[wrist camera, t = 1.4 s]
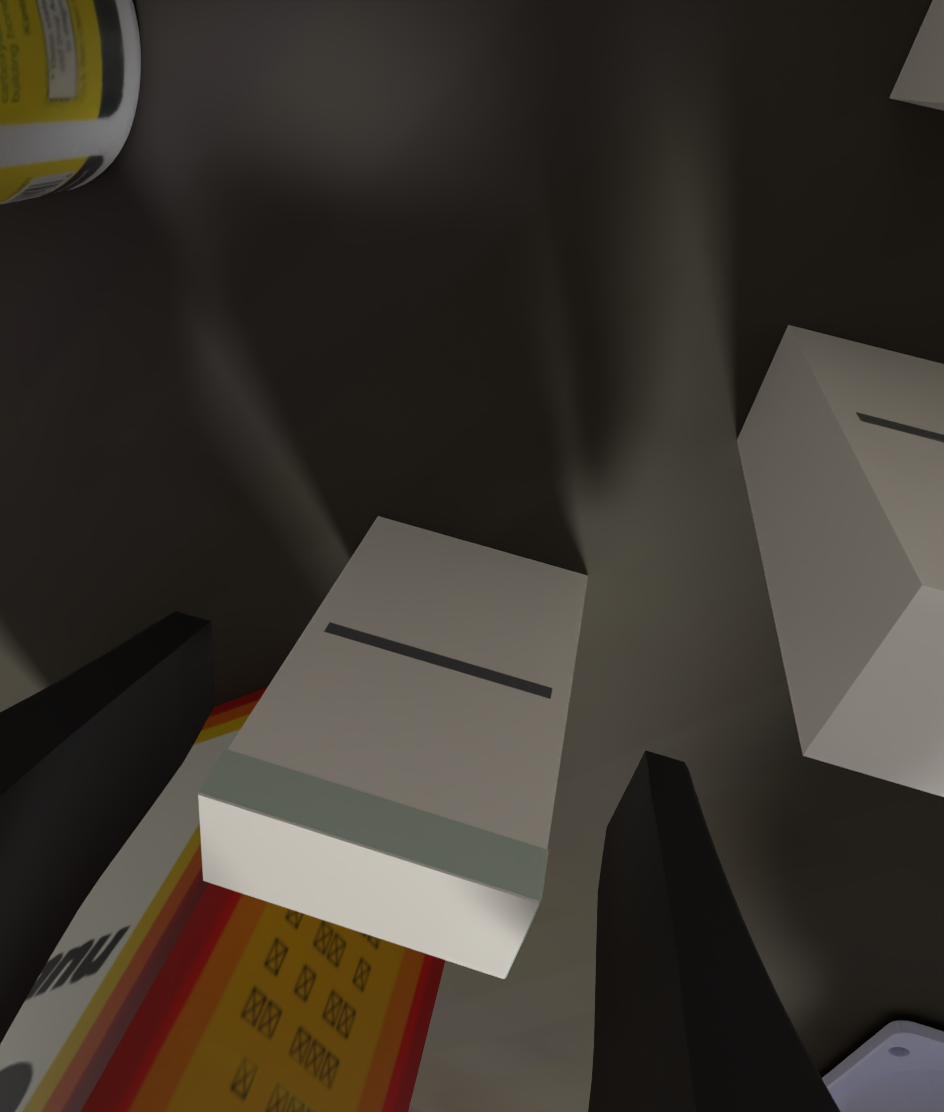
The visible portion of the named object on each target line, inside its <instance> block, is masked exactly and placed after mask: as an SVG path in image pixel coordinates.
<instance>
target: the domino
mask: <svg viewBox="0 0 944 1112" xmlns="http://www.w3.org/2000/svg"><path fill="white" fill-rule="evenodd" d="M737 444H738V449H739V453H740V458H741V463H742V468H743V472H744V477H745V482H746V487H747V492H748V496H749V501H750V506H751V511H752V515H753V520H754V525H755V530H756V535H757V539H758V544H759V549H760V554H761V558H762V563H763V568H764V573H765V578H766V582H767V587H768V592H769V597H770V601H771V606H772V611H773V616H774V621H775V625H776V630H777V635H778V640H779V644H780V649H781V654H782V659H783V664H784V668H785V673H786V678H787V683H788V687H789V692H790V697H791V702H792V707H793V711H794V716H795V721H796V726H797V730H798V735H799V740H800V745H801V750H802V754H803V756H806V757H809V758H813V759H816V760H819V761H823V762H826V763H830V764H833V765H836V766H840V767H843V768H846V769H850V770H853V771H857V772H860V773H863V774H867V775H870V776H874V777H877V778H880V779H884V780H887V781H891V782H894V783H897V784H901V785H904V786H908V787H911V788H914V789H918V790H921V791H925V792H928V793H931V794H935V795H938V796H941V797H944V364H941V363H937V362H933V361H929V360H926V359H922V358H918V357H914V356H910V355H906V354H902V353H898V352H894V351H890V350H886V349H882V348H878V347H874V346H870V345H866V344H862V343H858V342H854V341H850V340H847V339H843V338H839V337H835V336H831V335H827V334H823V333H819V332H815V331H811V330H807V329H803V328H799V327H795V326H791V325H788V326H787V329H786V331H785V333H784V335H783V338H782V340H781V342H780V344H779V347H778V349H777V351H776V353H775V356H774V358H773V360H772V362H771V365H770V367H769V369H768V371H767V374H766V376H765V378H764V380H763V383H762V385H761V387H760V389H759V392H758V394H757V396H756V398H755V401H754V403H753V405H752V407H751V410H750V412H749V414H748V416H747V419H746V421H745V423H744V425H743V428H742V430H741V432H740V434H739V437H738V439H737Z"/></svg>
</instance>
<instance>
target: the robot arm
mask: <svg viewBox="0 0 944 1112" xmlns="http://www.w3.org/2000/svg"><path fill="white" fill-rule="evenodd" d="M213 708H214V700H213V670H212V640H211V622H210V621H207V620H204V619H200V618H197V617H194V616H190V615H187V614H183V613H180V612H177V611H176V612H174V613H172V614H170V615H168V616H167V617H165V618H163V619H162V620H160V621H158V622H156V623H155V624H153V625H151V626H150V627H148V628H146V629H145V630H143V631H141V632H140V633H138V634H137V635H135V636H133V637H132V638H130V639H128V640H127V641H125V642H123V643H122V644H120V645H118V646H117V647H115V648H113V649H112V650H110V651H108V652H107V653H105V654H103V655H102V656H100V657H98V658H97V659H95V660H93V661H92V662H90V663H88V664H87V665H85V666H83V667H81V668H80V669H78V670H76V671H75V672H73V673H71V674H69V675H68V676H66V677H64V678H62V679H61V680H59V681H57V682H55V683H54V684H52V685H50V686H49V687H47V688H45V689H43V690H41V691H40V692H38V693H36V694H34V695H32V696H30V697H29V698H27V699H25V700H23V701H21V702H19V703H17V704H15V705H13V706H12V707H10V708H8V709H6V710H4V711H2V712H0V1044H1V1042H2V1041H3V1039H4V1037H5V1035H6V1033H7V1031H8V1030H9V1028H10V1026H11V1024H12V1023H13V1021H14V1019H15V1017H16V1016H17V1014H18V1012H19V1010H20V1009H21V1007H22V1005H23V1003H24V1002H25V1000H26V998H27V996H28V995H29V993H30V991H31V989H32V988H33V986H34V984H35V982H36V980H37V979H38V977H39V975H40V973H41V972H42V970H43V968H44V967H45V965H46V963H47V962H48V960H49V958H50V956H51V955H52V953H53V951H54V950H55V948H56V946H57V945H58V943H59V941H60V940H61V938H62V936H63V935H64V933H65V931H66V930H67V928H68V926H69V925H70V923H71V921H72V920H73V918H74V916H75V915H76V913H77V911H78V910H79V908H80V906H81V905H82V904H83V902H84V901H85V899H86V898H87V896H88V895H89V893H90V892H91V890H92V889H93V887H94V886H95V884H96V883H97V881H98V880H99V878H100V877H101V876H102V874H103V873H104V872H105V870H106V869H107V867H108V866H109V865H110V863H111V862H112V861H113V859H114V858H115V856H116V855H117V854H118V852H119V851H120V850H121V848H122V847H123V845H124V844H125V843H126V841H127V840H128V839H129V837H130V836H131V834H132V833H133V832H134V830H135V829H136V828H137V826H138V825H139V823H140V822H141V821H142V819H143V818H144V817H145V815H146V814H147V812H148V811H149V810H150V808H151V807H152V806H153V804H154V803H155V801H156V800H157V799H158V797H159V796H160V794H161V793H162V792H163V790H164V789H165V787H166V786H167V785H168V783H169V782H170V781H171V779H172V778H173V776H174V775H175V773H176V772H177V771H178V769H179V768H180V766H181V765H182V764H183V762H184V760H185V759H186V757H187V755H188V753H189V752H190V750H191V748H192V746H193V745H194V743H195V741H196V739H197V738H198V736H199V734H200V732H201V730H202V728H203V726H204V725H205V723H206V721H207V719H208V717H209V715H210V713H211V712H212V710H213ZM588 1112H944V1031H941V1030H938V1029H934V1028H931V1027H928V1026H925V1025H922V1024H919V1023H916V1022H912V1021H907V1020H897V1021H892V1022H890V1023H888V1024H887V1025H886V1026H885V1027H884V1028H882V1029H881V1030H880V1031H879V1032H877V1033H876V1034H875V1035H874V1036H873V1037H871V1038H870V1039H869V1040H868V1041H866V1042H865V1043H864V1044H863V1045H862V1046H860V1047H859V1048H858V1049H857V1050H856V1051H854V1052H853V1053H852V1054H851V1055H849V1056H848V1057H847V1058H846V1059H845V1060H843V1061H842V1062H841V1063H840V1064H838V1065H837V1066H836V1067H835V1068H834V1069H832V1070H831V1071H830V1072H829V1073H828V1074H826V1075H825V1076H824V1077H823V1078H821V1076H820V1074H819V1073H818V1071H817V1069H816V1067H815V1065H814V1064H813V1062H812V1060H811V1058H810V1056H809V1054H808V1053H807V1051H806V1049H805V1047H804V1045H803V1043H802V1041H801V1039H800V1037H799V1036H798V1034H797V1032H796V1030H795V1028H794V1026H793V1024H792V1022H791V1020H790V1018H789V1016H788V1014H787V1012H786V1011H785V1009H784V1007H783V1005H782V1003H781V1001H780V998H779V996H778V994H777V992H776V990H775V988H774V986H773V984H772V982H771V980H770V978H769V976H768V973H767V971H766V969H765V967H764V965H763V963H762V960H761V958H760V956H759V954H758V952H757V950H756V947H755V945H754V943H753V941H752V939H751V936H750V934H749V932H748V929H747V927H746V925H745V922H744V920H743V918H742V915H741V913H740V910H739V908H738V905H737V903H736V901H735V898H734V896H733V893H732V891H731V888H730V886H729V883H728V881H727V878H726V876H725V873H724V871H723V868H722V866H721V863H720V860H719V858H718V855H717V852H716V850H715V847H714V844H713V841H712V838H711V836H710V833H709V830H708V827H707V825H706V822H705V819H704V816H703V813H702V810H701V807H700V804H699V801H698V798H697V795H696V792H695V789H694V785H693V782H692V779H691V776H690V773H689V770H688V768H687V766H686V764H685V762H682V761H679V760H676V759H672V758H669V757H666V756H662V755H659V754H655V753H652V752H649V751H645V753H644V755H643V757H642V759H641V761H640V763H639V765H638V767H637V769H636V771H635V773H634V775H633V777H632V779H631V781H630V783H629V785H628V786H627V788H626V790H625V792H624V794H623V796H622V798H621V800H620V802H619V804H618V806H617V808H616V810H615V812H614V814H613V816H612V818H611V820H610V822H609V824H608V826H607V830H606V837H605V844H604V851H603V858H602V865H601V873H600V880H599V888H598V908H597V944H596V987H595V1029H594V1054H593V1071H592V1083H591V1092H590V1101H589V1110H588Z"/></svg>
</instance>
